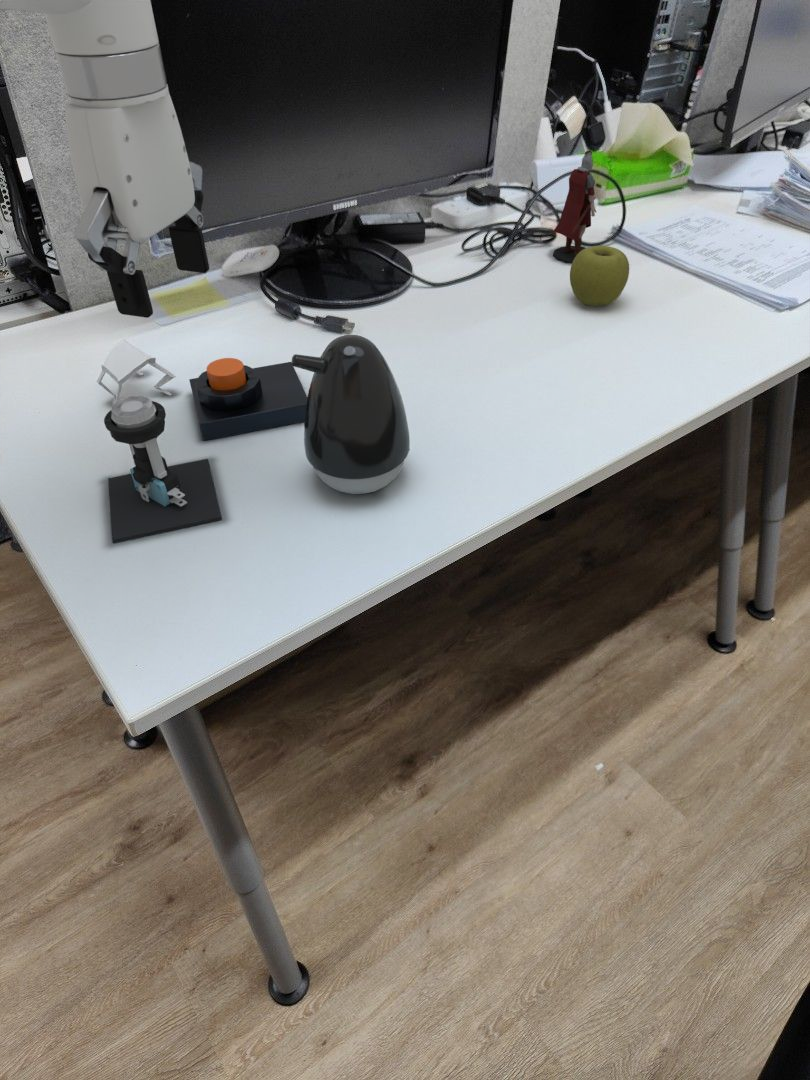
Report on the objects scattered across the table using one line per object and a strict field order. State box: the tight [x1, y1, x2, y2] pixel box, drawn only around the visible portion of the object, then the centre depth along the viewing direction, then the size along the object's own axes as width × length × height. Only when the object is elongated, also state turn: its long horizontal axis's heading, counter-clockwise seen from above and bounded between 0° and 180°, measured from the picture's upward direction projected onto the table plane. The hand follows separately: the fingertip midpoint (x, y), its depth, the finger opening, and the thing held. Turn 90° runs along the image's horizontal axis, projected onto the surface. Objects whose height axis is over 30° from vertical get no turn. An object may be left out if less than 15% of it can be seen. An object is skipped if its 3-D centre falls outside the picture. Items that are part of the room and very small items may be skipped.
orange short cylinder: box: [205, 357, 246, 391], centre depth 84 cm, size 4×4×2 cm
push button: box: [103, 395, 187, 507], centre depth 71 cm, size 7×5×10 cm
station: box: [188, 361, 308, 441], centre depth 86 cm, size 12×10×4 cm
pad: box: [107, 458, 223, 544], centre depth 75 cm, size 10×10×1 cm
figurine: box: [552, 150, 597, 264], centre depth 114 cm, size 7×7×15 cm
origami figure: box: [96, 338, 177, 405], centre depth 89 cm, size 12×8×5 cm
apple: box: [569, 245, 630, 307], centre depth 104 cm, size 8×8×7 cm
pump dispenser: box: [291, 334, 411, 495], centre depth 72 cm, size 10×10×15 cm
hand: (166, 291), depth 69 cm, fingers open, 9 cm apart
